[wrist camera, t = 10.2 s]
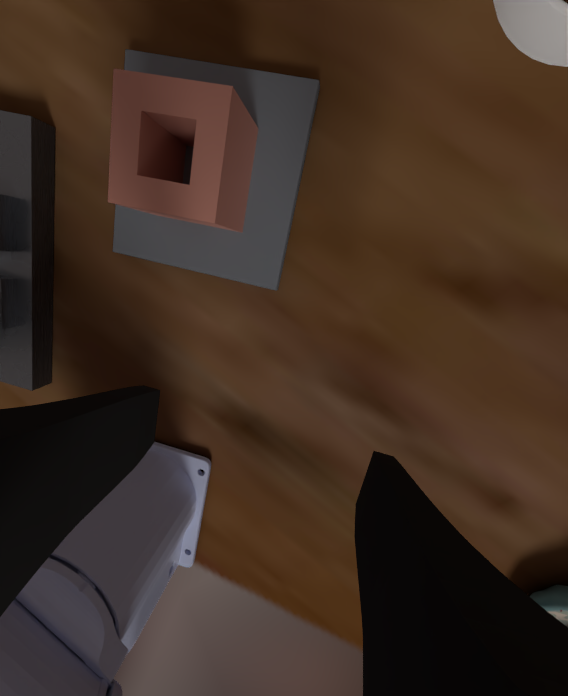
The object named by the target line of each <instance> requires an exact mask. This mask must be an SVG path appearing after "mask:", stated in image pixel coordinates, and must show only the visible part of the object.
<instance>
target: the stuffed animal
mask: <svg viewBox="0 0 568 696" xmlns="http://www.w3.org/2000/svg"><path fill="white" fill-rule="evenodd" d="M530 598H532V599H533V600H534V601H535V602H536V603H538V604H539V605H540V606H541V607H542V608H544V609H545V610H546V611H547V612H549V613H550V614H551V615H553V616H554V617H555V618H556V619H558V620H559V621H560V622H561V623H563V624H564V625H565V626H567V627H568V586H563V585H554V586H551V587H549V588H546V589H544V590H542V591H537V592H533V593H532V594H531V595H530Z"/></svg>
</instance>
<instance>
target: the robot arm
mask: <svg viewBox="0 0 568 696" xmlns="http://www.w3.org/2000/svg"><path fill="white" fill-rule="evenodd" d="M159 396H160V390H157V389H154V388H150V387H147V386H134V387H128V388H122V389H117V390H112V391H107V392H103V393H98V394H93V395H88V396H83V397H78V398H73V399H67V400H62V401H56V402H50V403H45V404H39V405H32V406H25V407H17V408H8V409H0V696H122V688H121V686H120V684H119V683H118V682H117V681H116V680H114V677H115V675H116V673H117V671H118V670H119V668H120V666H121V664H122V662H123V661H124V659H125V657H126V655H127V654H128V653H129V651H130V650H131V649H132V647H133V645H134V644H135V642H136V640H137V639H138V637H139V635H140V633H141V631H142V629H143V628H144V626H145V624H146V622H147V620H148V619H149V616H150V615H151V613H152V611H153V609H154V608H155V606H156V604H157V602H158V600H159V598H160V597H161V595H162V593H163V591H164V589H165V587H166V586H167V584H168V582H169V580H170V578H171V577H172V575H173V573H174V571H175V569H176V568H177V566H178V565H181V566H183V567H191V566H192V565H193V563H194V560H195V554H196V549H197V543H198V537H199V532H200V526H201V520H202V515H203V509H204V503H205V498H206V492H207V486H208V481H209V475H210V469H211V462H210V460H209V459H208V458H206V457H203V456H200V455H197V454H193V453H190V452H187V451H184V450H180V449H177V448H174V447H170V446H167V445H164V444H160V443H157V442H154V439H155V430H156V421H157V413H158V404H159ZM200 469H202V470H204V472H202V471H201V470H200ZM355 546H356V558H357V569H358V580H359V591H360V602H361V613H362V628H363V696H568V627H567V626H565V625H564V624H563V623H561V622H560V621H559V620H558V619H556V618H555V617H554V616H553V615H551V614H550V613H549V612H547V611H546V610H545V609H544V608H542V607H541V606H540V605H539V604H538V603H536V602H535V601H534V600H533V599H532V598H530V597H529V596H528V595H527V594H526V593H524V592H523V591H522V590H521V589H520V588H518V587H517V586H516V585H515V584H514V583H512V582H511V581H510V580H509V579H508V578H507V577H506V576H504V575H503V574H502V573H501V572H500V571H499V570H498V569H497V568H495V567H494V566H493V565H492V564H491V563H490V562H489V561H488V560H487V559H486V558H485V557H484V556H483V555H482V554H481V553H480V552H478V551H477V550H476V549H475V548H474V547H473V546H472V545H471V544H470V543H469V542H468V541H467V540H466V539H465V538H464V537H463V536H462V535H461V534H460V533H459V532H458V531H457V530H456V528H455V527H454V526H453V525H452V524H451V523H450V522H449V521H448V520H447V519H446V518H445V517H444V516H443V514H442V513H441V512H440V511H439V510H438V509H437V508H436V507H435V505H434V504H433V503H432V502H431V501H430V500H429V498H428V497H427V496H426V495H425V494H424V492H423V491H422V490H421V489H420V488H419V486H418V485H417V484H416V483H415V481H414V480H413V479H412V478H411V477H410V475H409V474H408V473H407V472H406V470H405V469H404V468H403V467H402V465H401V464H400V463H399V462H398V461H397V460H396V459H395V458H394V457H393V456H390V455H386V454H383V453H379V452H376V451H374V452H373V455H372V458H371V461H370V464H369V467H368V470H367V473H366V476H365V479H364V481H363V484H362V487H361V490H360V493H359V496H358V499H357V502H356V512H355Z"/></svg>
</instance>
